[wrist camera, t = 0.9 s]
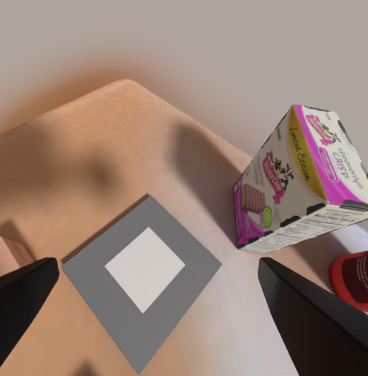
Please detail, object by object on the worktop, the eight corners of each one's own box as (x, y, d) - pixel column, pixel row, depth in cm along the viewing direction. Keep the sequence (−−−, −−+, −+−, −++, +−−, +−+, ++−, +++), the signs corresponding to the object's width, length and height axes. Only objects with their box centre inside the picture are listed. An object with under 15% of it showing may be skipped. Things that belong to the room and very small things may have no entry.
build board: (139, 371, 18) (138, 375, 17) (64, 267, 22) (60, 266, 21) (219, 265, 25) (222, 264, 24) (150, 198, 28) (150, 195, 27)
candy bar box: (230, 185, 32) (291, 101, 18) (257, 189, 32) (337, 109, 18) (234, 251, 26) (329, 202, 12) (267, 255, 26) (396, 212, 12)
